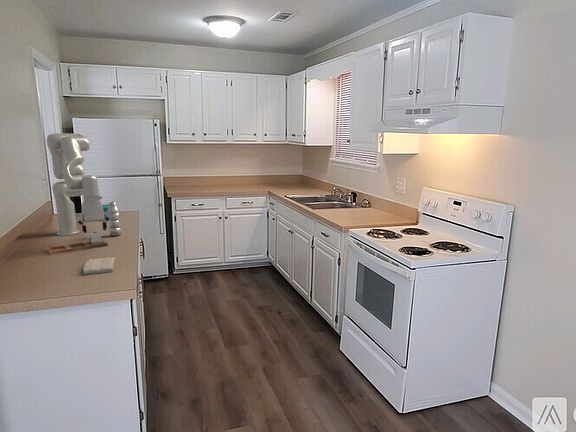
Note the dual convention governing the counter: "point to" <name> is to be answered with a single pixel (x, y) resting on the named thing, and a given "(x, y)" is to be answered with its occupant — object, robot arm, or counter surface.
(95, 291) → the counter surface
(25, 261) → the counter surface
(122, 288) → the counter surface
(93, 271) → the washcloth
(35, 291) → the counter surface
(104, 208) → the snack cup
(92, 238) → the steel plug
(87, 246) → the rail
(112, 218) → the plastic bottle
